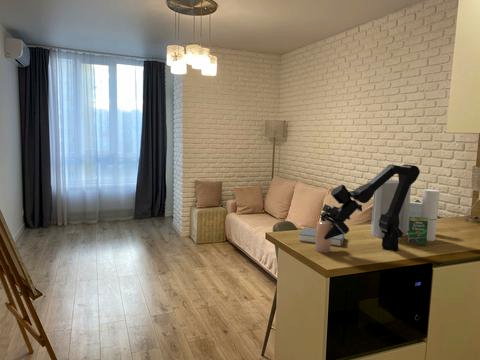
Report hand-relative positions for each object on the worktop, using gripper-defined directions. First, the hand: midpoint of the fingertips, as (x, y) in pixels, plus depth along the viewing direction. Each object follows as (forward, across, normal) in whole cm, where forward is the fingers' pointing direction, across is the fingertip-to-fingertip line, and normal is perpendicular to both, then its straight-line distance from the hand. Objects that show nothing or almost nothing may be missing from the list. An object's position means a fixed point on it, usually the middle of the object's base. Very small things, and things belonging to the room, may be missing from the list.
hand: (320, 235), depth 158 cm
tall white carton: (-28, -26, +38) cm, 53 cm away
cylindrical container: (-40, -13, +49) cm, 65 cm away
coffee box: (-32, -5, +41) cm, 52 cm away
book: (-1, -16, +10) cm, 19 cm away
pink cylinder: (+4, 0, +6) cm, 7 cm away
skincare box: (-40, -30, +50) cm, 71 cm away
